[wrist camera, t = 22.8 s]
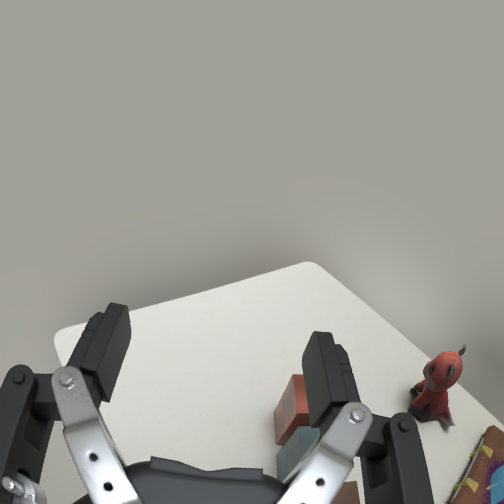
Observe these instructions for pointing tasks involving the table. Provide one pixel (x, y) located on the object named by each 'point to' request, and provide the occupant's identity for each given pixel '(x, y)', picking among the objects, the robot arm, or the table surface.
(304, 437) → the three coloured blocks
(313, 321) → the table surface
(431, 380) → the stuffed fox
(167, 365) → the table surface
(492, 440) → the book
